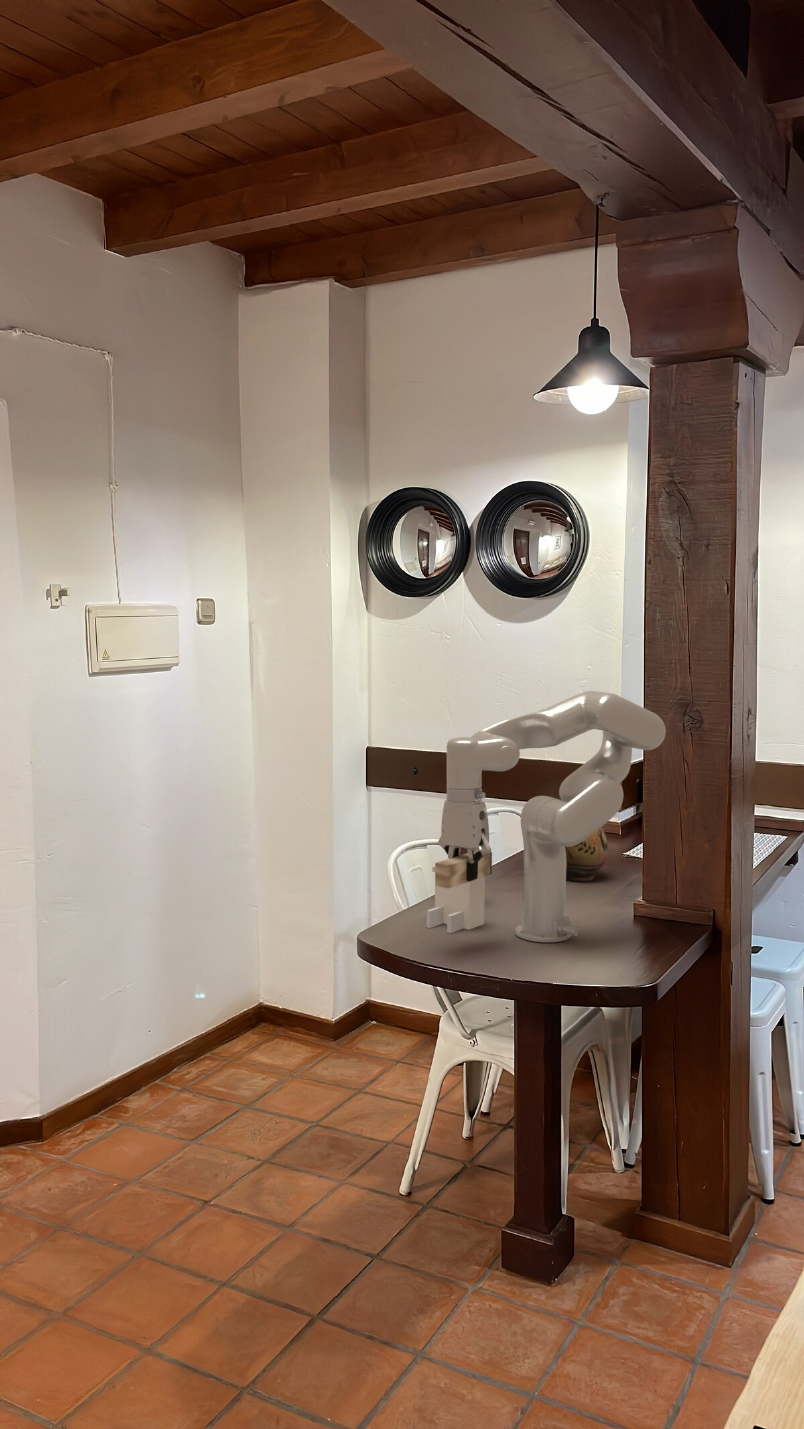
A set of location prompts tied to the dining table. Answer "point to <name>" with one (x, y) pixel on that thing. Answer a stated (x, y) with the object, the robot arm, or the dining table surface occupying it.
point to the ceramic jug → (586, 857)
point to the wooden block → (459, 870)
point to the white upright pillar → (458, 906)
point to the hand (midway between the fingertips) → (464, 877)
